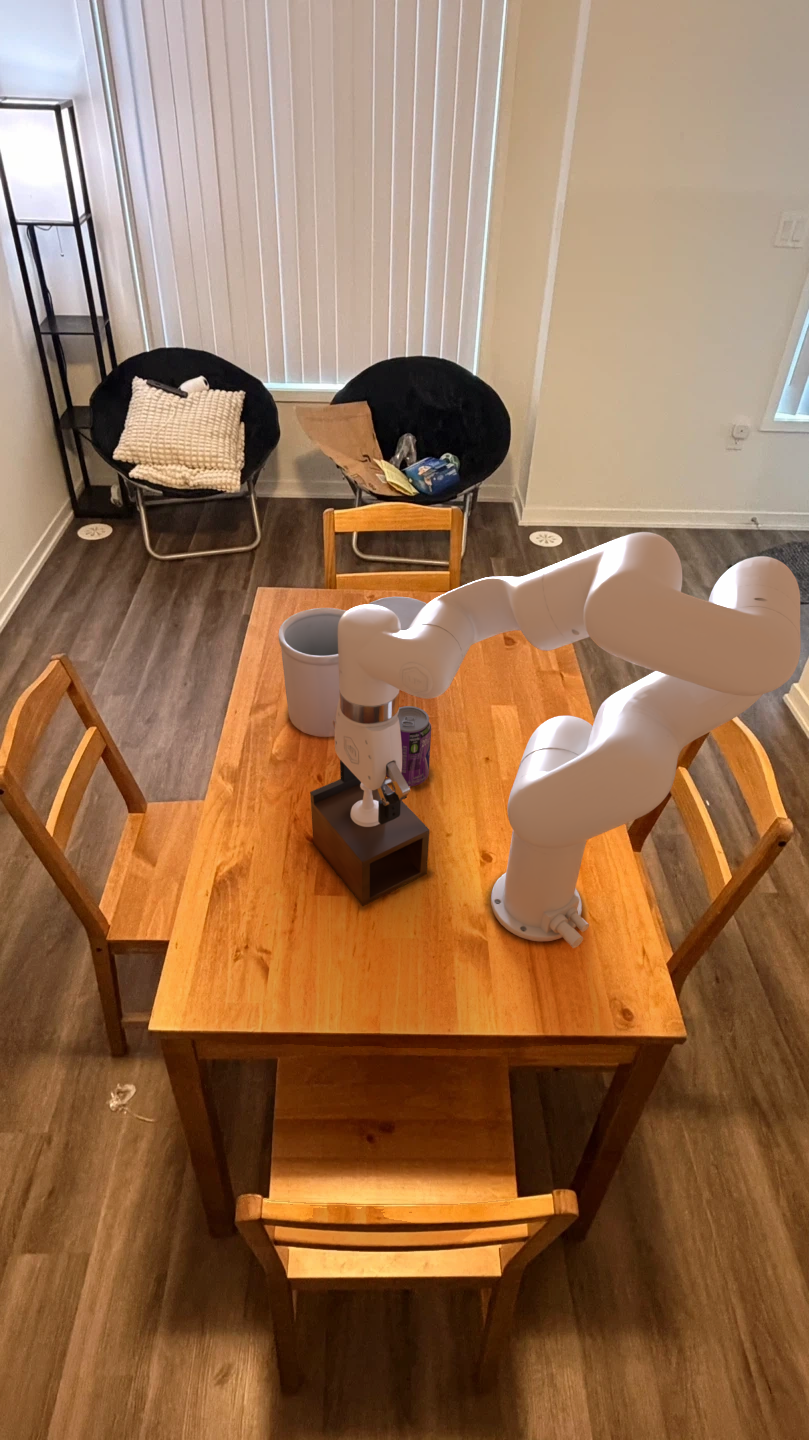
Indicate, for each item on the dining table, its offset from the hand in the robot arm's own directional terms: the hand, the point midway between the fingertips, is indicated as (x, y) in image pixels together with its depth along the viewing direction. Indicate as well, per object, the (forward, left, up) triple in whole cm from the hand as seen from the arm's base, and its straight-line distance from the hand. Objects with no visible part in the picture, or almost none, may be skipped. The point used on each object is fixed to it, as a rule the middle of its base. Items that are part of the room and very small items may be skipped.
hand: (369, 798), depth 118 cm
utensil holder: (+33, -12, -13) cm, 37 cm away
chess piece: (0, 0, -3) cm, 3 cm away
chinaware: (+43, -34, -13) cm, 56 cm away
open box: (0, 0, -12) cm, 12 cm away
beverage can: (+12, -15, -13) cm, 23 cm away
